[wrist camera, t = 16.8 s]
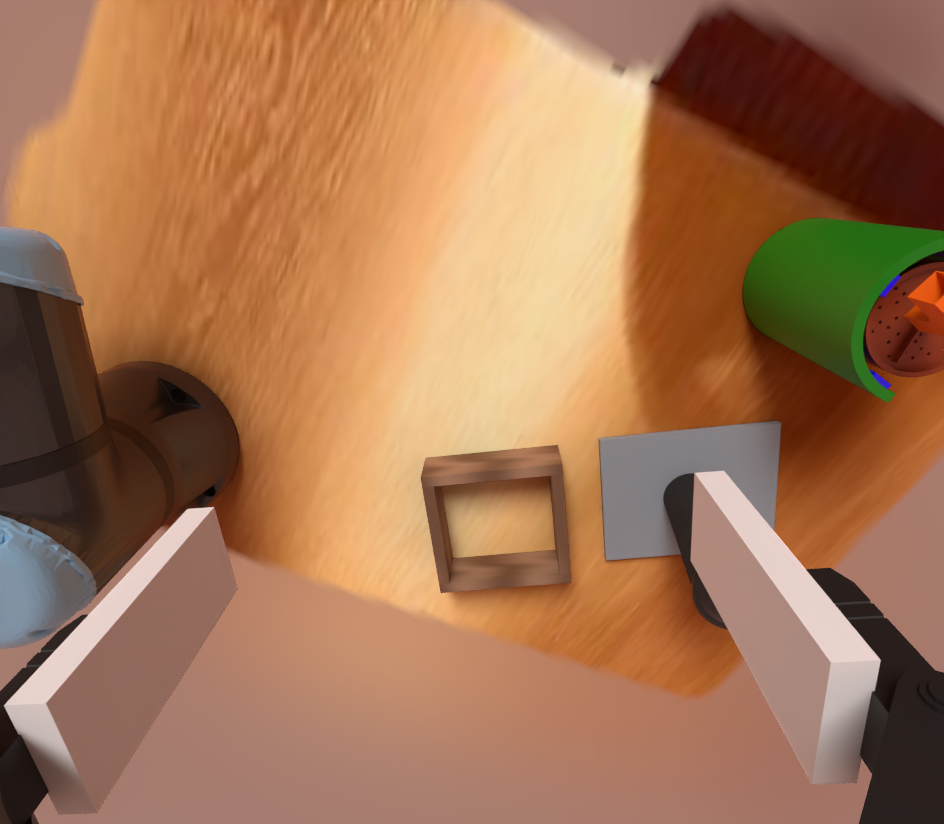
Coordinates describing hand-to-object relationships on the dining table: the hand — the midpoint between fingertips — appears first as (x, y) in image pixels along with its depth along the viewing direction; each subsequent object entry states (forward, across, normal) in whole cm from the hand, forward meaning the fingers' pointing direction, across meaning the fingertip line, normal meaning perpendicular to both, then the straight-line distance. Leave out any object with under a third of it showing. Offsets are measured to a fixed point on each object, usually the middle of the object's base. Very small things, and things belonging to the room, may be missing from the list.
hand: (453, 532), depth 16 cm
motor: (+36, +27, -1) cm, 45 cm away
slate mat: (+36, +18, -20) cm, 45 cm away
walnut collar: (+36, 0, -20) cm, 42 cm away
